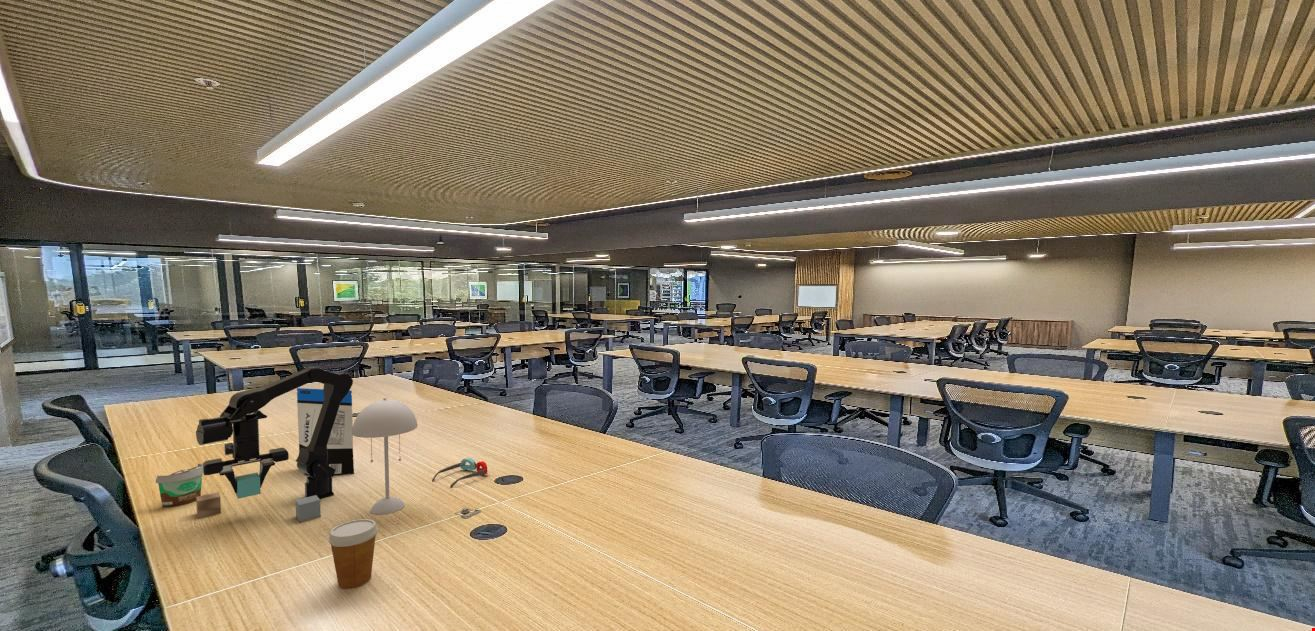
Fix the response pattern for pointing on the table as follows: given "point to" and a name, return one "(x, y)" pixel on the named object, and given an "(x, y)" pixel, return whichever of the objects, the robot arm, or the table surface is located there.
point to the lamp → (385, 438)
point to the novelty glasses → (467, 467)
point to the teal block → (248, 485)
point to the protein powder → (340, 434)
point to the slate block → (308, 508)
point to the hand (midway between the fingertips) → (248, 490)
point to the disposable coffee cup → (353, 551)
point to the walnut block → (208, 505)
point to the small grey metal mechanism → (465, 511)
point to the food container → (180, 486)
